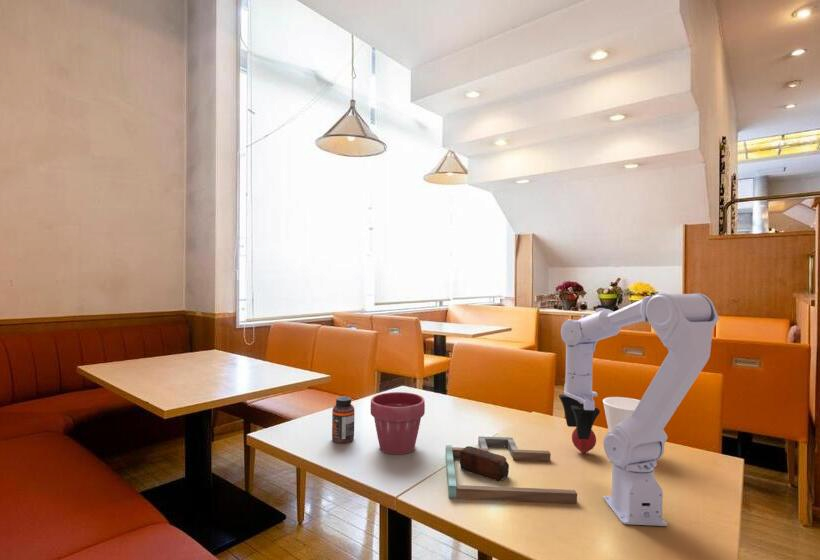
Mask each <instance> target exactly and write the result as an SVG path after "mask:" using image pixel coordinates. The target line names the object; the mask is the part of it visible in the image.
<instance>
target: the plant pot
mask: <svg viewBox="0 0 820 560" xmlns="http://www.w3.org/2000/svg"><path fill="white" fill-rule="evenodd" d="M425 403H426V402H425V398H424V397H423V396H422V395H419V394H417V393H413V392H407V391H406V392H403V391H396V392H394V391H393V392H384V393H380V394H376V395H374V396H372V397H371V399H370V415H371V416H372V417H373V419H374V425H375V430H376V435H377V439H378V440H377V441H378V445H379V449H380V450H381V451H382V452H384V453H387V454H390V455H404V454H409V453H411V452H412V451H414V450H415V448H416V443H417V438H418V434H419V430H420V425H421V420H422V418H423V417H424V415H425V412H426V411H425V409H426V407H425Z"/></svg>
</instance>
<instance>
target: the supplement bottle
mask: <svg viewBox="0 0 820 560" xmlns="http://www.w3.org/2000/svg"><path fill="white" fill-rule="evenodd" d="M335 403H336V404H335V405H334V406H333V407H332V410H331V411H332V413H331V414H332V415H331V418H332V421H331V424H332V425H331V439H332V441H333V442H335V443H337V444H345V443H350V442H352V441H353V440H354V438H355V406H354V405H353V404H352V398H351V397H350V396H345V395H343V396H338V397H336V398H335Z"/></svg>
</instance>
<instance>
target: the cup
mask: <svg viewBox="0 0 820 560" xmlns="http://www.w3.org/2000/svg"><path fill="white" fill-rule="evenodd" d="M640 400H641V399H636V398H631V397H625V396H624V397H623V396H608V397H605V398H603V399H602V403H603V408H604V414H605V419H606V423H607V424H606V425H607V430H608V433H609V432H611V431H613V430H614V429H615V428H616V426H617V425H618V424H619V423H621V422H622V421H624V420H626V419H627V418H629V417H630V416H632V414H633V412H634V410H635V409H636V407H637V405H638V404H639V402H640Z"/></svg>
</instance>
